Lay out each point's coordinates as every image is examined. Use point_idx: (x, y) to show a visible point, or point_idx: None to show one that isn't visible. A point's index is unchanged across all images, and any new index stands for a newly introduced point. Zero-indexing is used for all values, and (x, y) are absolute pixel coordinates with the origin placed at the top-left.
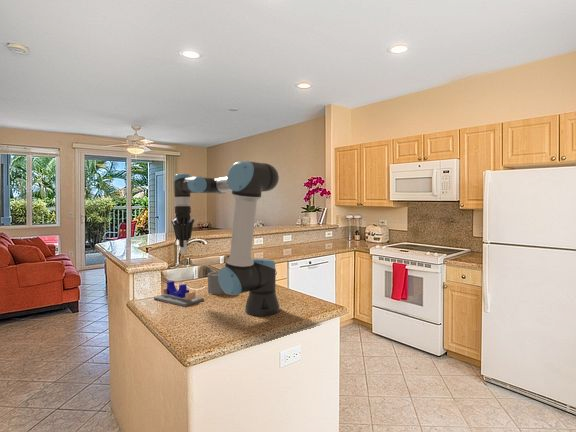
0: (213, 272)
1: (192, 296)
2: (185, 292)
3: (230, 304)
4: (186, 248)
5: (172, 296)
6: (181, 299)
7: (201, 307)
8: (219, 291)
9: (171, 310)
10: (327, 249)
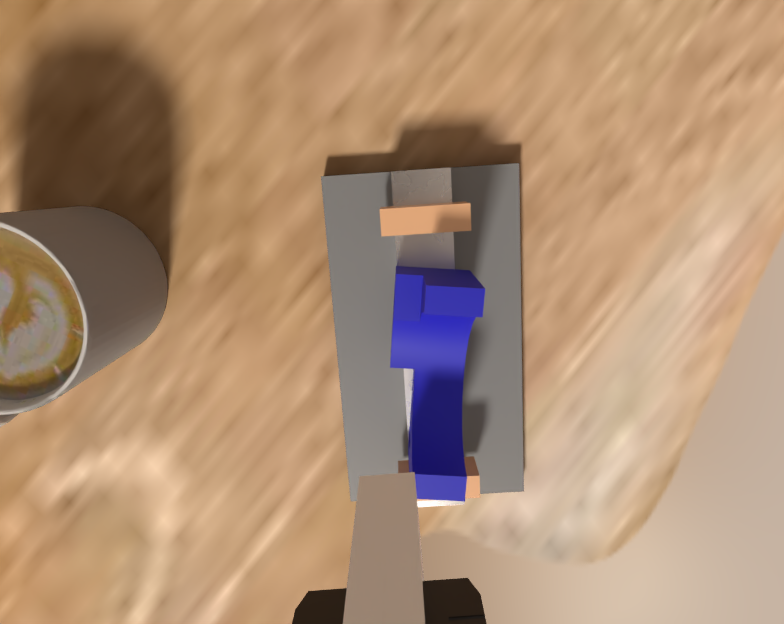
0: None
1: (413, 204)
2: (432, 274)
3: None
4: (364, 535)
5: None
6: None
7: (457, 40)
8: (114, 218)
9: (625, 169)
10: None
